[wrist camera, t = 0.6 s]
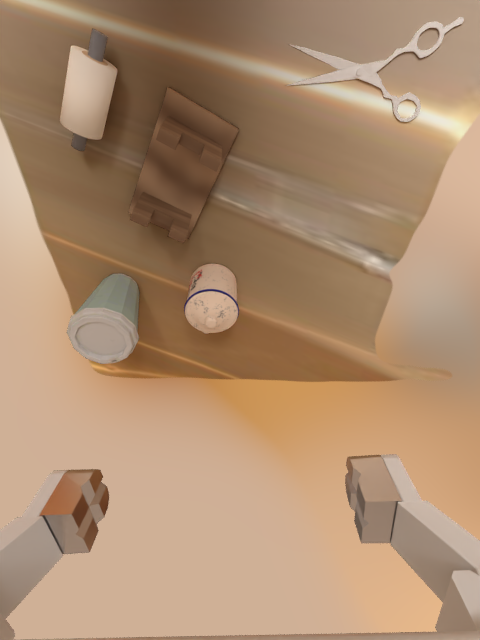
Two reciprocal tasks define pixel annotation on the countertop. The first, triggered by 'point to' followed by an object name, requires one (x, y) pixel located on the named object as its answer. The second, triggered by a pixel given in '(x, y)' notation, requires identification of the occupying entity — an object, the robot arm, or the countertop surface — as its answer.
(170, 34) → the countertop surface
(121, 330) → the disposable coffee cup
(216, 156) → the roll holder
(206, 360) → the countertop surface
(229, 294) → the teacup with lid
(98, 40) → the paper roll
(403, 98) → the scissors
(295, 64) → the countertop surface
